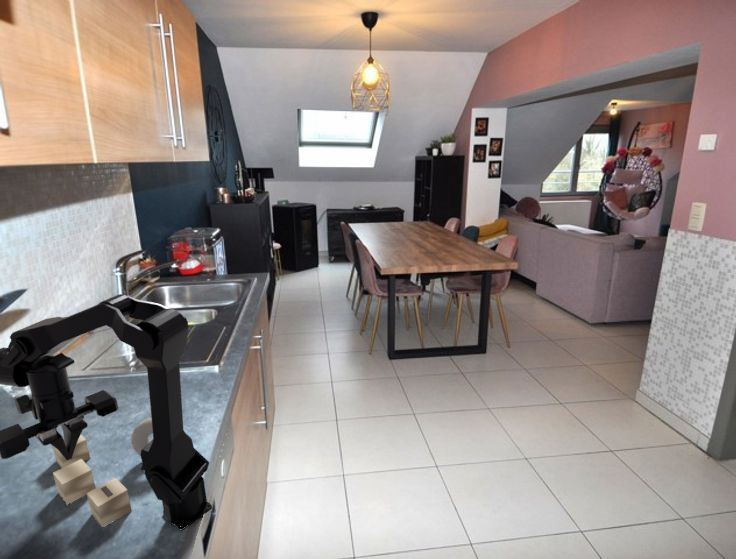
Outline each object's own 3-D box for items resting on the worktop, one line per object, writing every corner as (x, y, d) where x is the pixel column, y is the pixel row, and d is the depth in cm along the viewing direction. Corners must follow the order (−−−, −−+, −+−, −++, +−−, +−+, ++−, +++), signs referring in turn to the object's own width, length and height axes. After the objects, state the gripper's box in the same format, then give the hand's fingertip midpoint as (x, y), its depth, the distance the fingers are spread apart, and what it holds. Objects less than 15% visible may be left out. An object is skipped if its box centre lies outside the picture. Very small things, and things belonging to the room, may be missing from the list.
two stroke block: (81, 449, 98) (77, 430, 96) (90, 458, 95) (85, 439, 93) (56, 461, 94) (51, 441, 92) (64, 471, 91) (59, 451, 90)
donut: (185, 448, 98) (179, 410, 95) (183, 458, 95) (177, 419, 92) (137, 455, 95) (129, 417, 93) (133, 466, 92) (125, 426, 89)
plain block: (86, 478, 89) (81, 458, 88) (96, 490, 86) (91, 469, 85) (58, 493, 85) (52, 472, 84) (67, 505, 82) (62, 484, 81)
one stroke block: (120, 498, 84) (115, 477, 82) (131, 511, 81) (127, 489, 80) (91, 515, 80) (86, 492, 79) (103, 528, 77) (97, 506, 76)
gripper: (89, 356, 90) (103, 420, 95) (-27, 395, 76) (-4, 467, 81) (112, 372, 84) (125, 440, 88) (-10, 418, 70) (13, 495, 74)
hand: (68, 458), depth 83 cm, fingers closed
